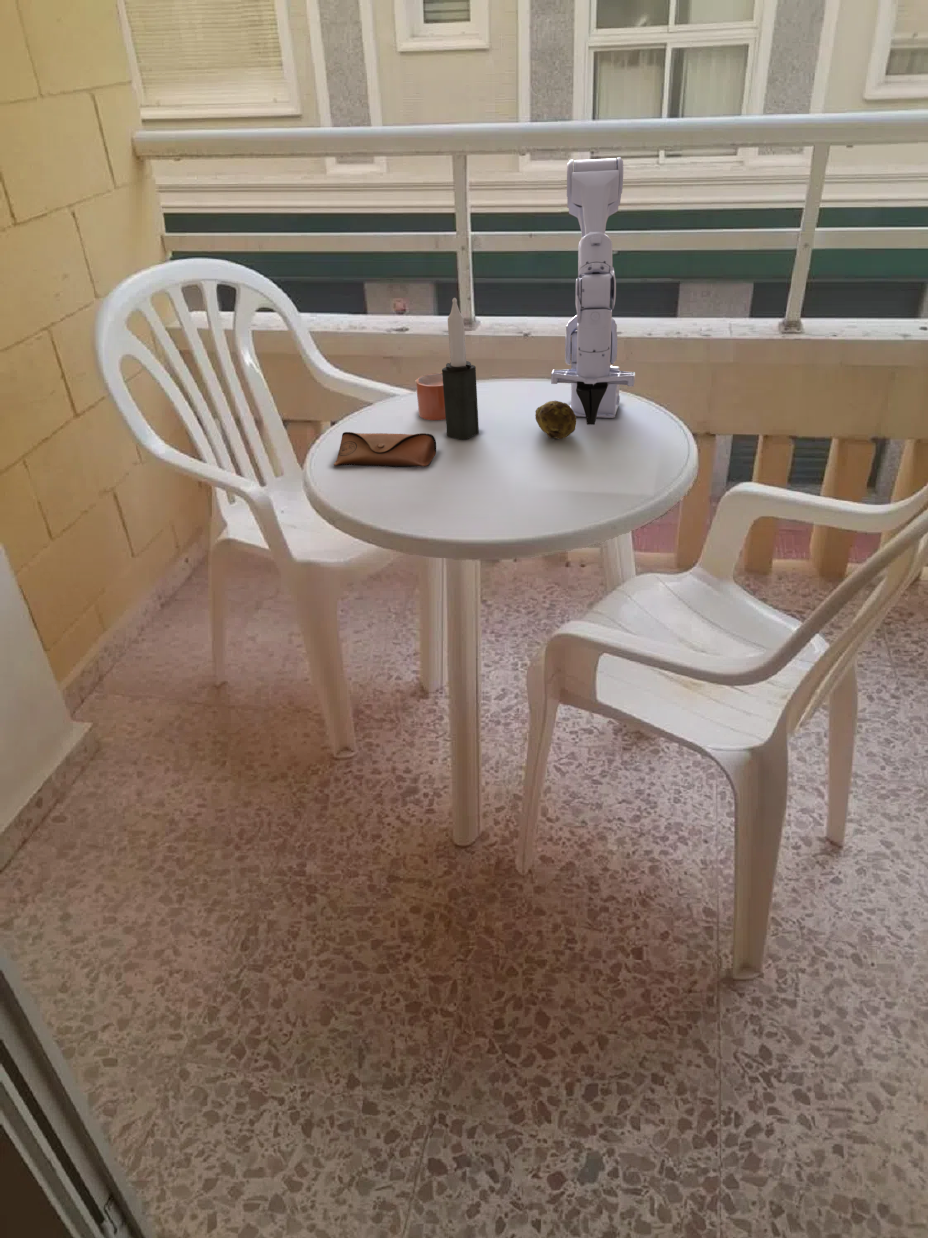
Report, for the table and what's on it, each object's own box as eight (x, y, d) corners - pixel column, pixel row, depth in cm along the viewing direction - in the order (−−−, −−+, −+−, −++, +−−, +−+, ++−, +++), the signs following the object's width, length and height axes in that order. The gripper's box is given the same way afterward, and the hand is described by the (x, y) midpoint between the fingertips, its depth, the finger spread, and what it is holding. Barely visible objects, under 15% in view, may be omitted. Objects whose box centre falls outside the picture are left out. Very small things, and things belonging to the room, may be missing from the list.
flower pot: (462, 406, 170) (460, 373, 166) (451, 421, 164) (449, 386, 160) (425, 405, 172) (422, 372, 168) (413, 419, 166) (410, 385, 162)
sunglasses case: (330, 465, 148) (331, 428, 147) (342, 470, 155) (343, 434, 154) (428, 466, 145) (429, 428, 144) (436, 471, 152) (437, 434, 151)
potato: (582, 426, 157) (583, 385, 153) (573, 453, 147) (573, 410, 143) (539, 424, 159) (539, 384, 155) (527, 451, 149) (526, 408, 145)
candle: (465, 440, 155) (457, 302, 141) (444, 435, 158) (433, 299, 143) (481, 431, 158) (474, 296, 144) (460, 426, 161) (451, 293, 147)
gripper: (547, 353, 141) (548, 429, 148) (633, 355, 137) (629, 432, 145) (555, 341, 146) (555, 414, 154) (638, 342, 142) (633, 418, 150)
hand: (591, 422), depth 150 cm, fingers closed
